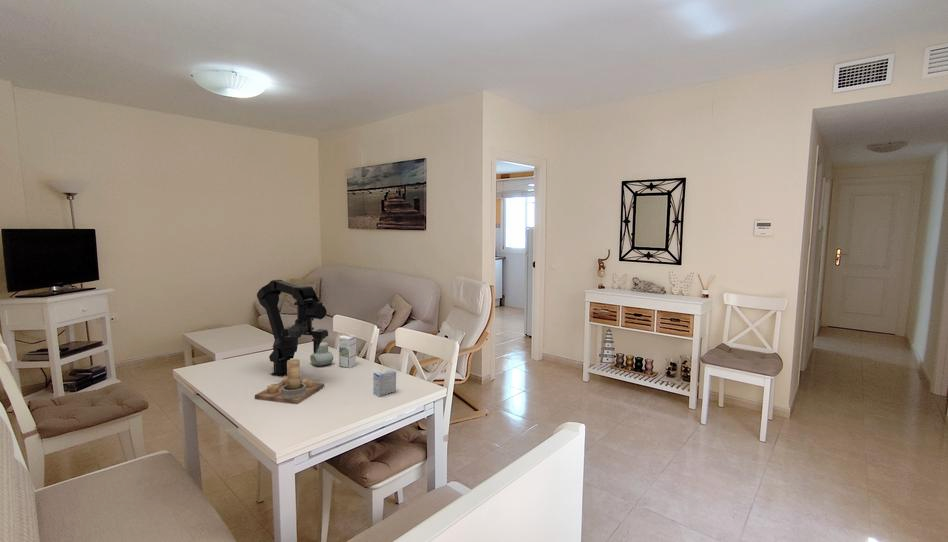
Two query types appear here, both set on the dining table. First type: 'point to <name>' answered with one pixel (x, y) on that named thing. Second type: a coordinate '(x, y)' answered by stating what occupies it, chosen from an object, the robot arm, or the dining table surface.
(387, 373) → the medicine box
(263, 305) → the robot arm
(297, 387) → the stool leg
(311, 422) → the dining table surface
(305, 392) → the stool seat
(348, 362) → the syrup box
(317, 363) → the air freshener
